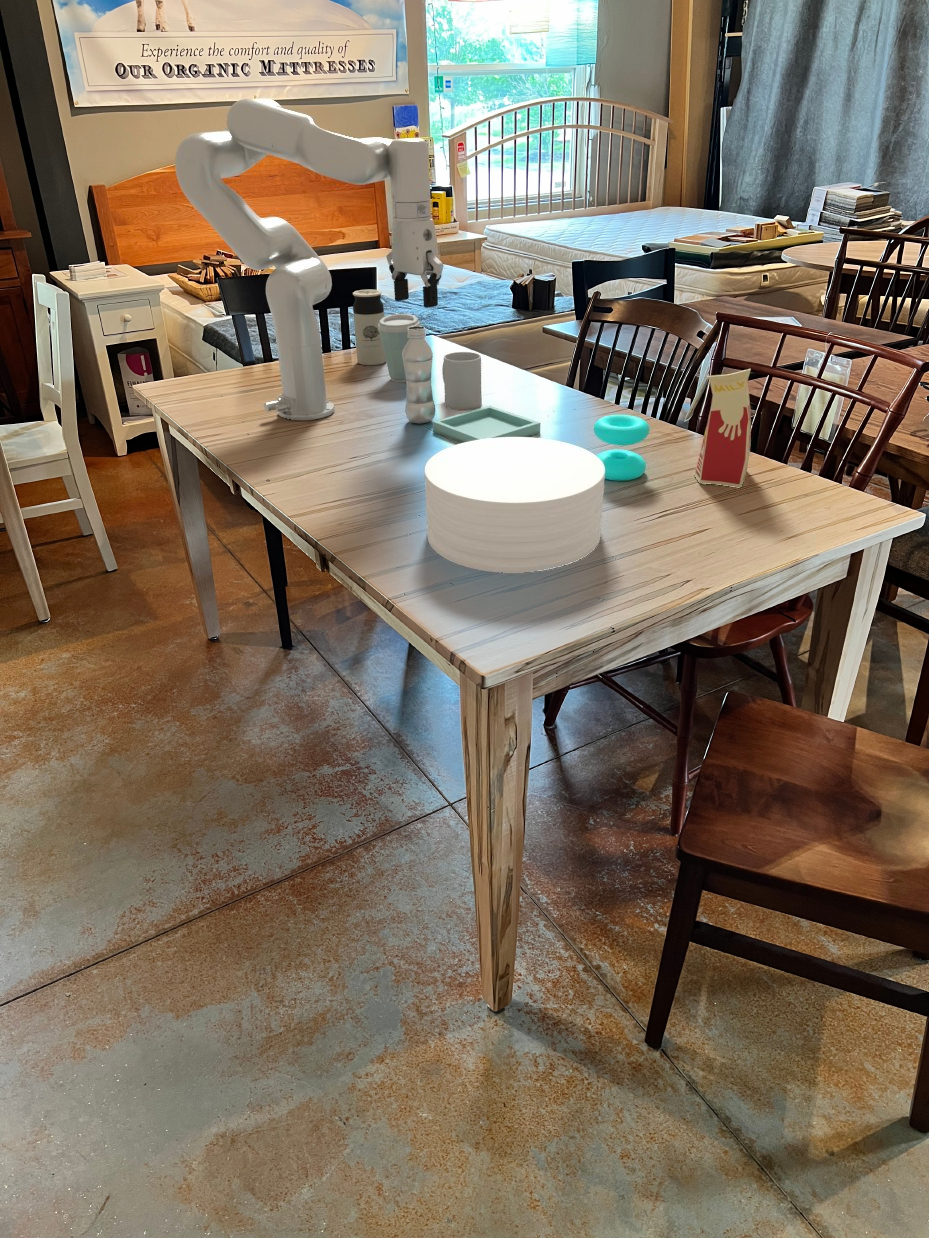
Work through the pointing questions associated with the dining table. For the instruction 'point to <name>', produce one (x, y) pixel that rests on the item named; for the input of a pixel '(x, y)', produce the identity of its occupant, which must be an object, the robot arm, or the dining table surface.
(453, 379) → the mug
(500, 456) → the plate stack
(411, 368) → the plastic bottle
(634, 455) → the donuts
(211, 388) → the dining table surface
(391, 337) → the disposable coffee cup
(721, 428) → the milk carton
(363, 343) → the travel mug
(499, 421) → the tray
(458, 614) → the dining table surface
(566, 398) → the dining table surface
